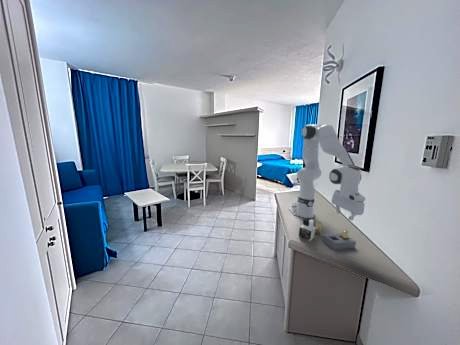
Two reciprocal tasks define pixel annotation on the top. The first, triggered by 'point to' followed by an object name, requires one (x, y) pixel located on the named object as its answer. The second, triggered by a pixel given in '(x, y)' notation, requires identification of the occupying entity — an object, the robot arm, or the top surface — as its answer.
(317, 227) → the pin
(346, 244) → the block
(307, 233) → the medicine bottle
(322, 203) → the top surface
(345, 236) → the pin
